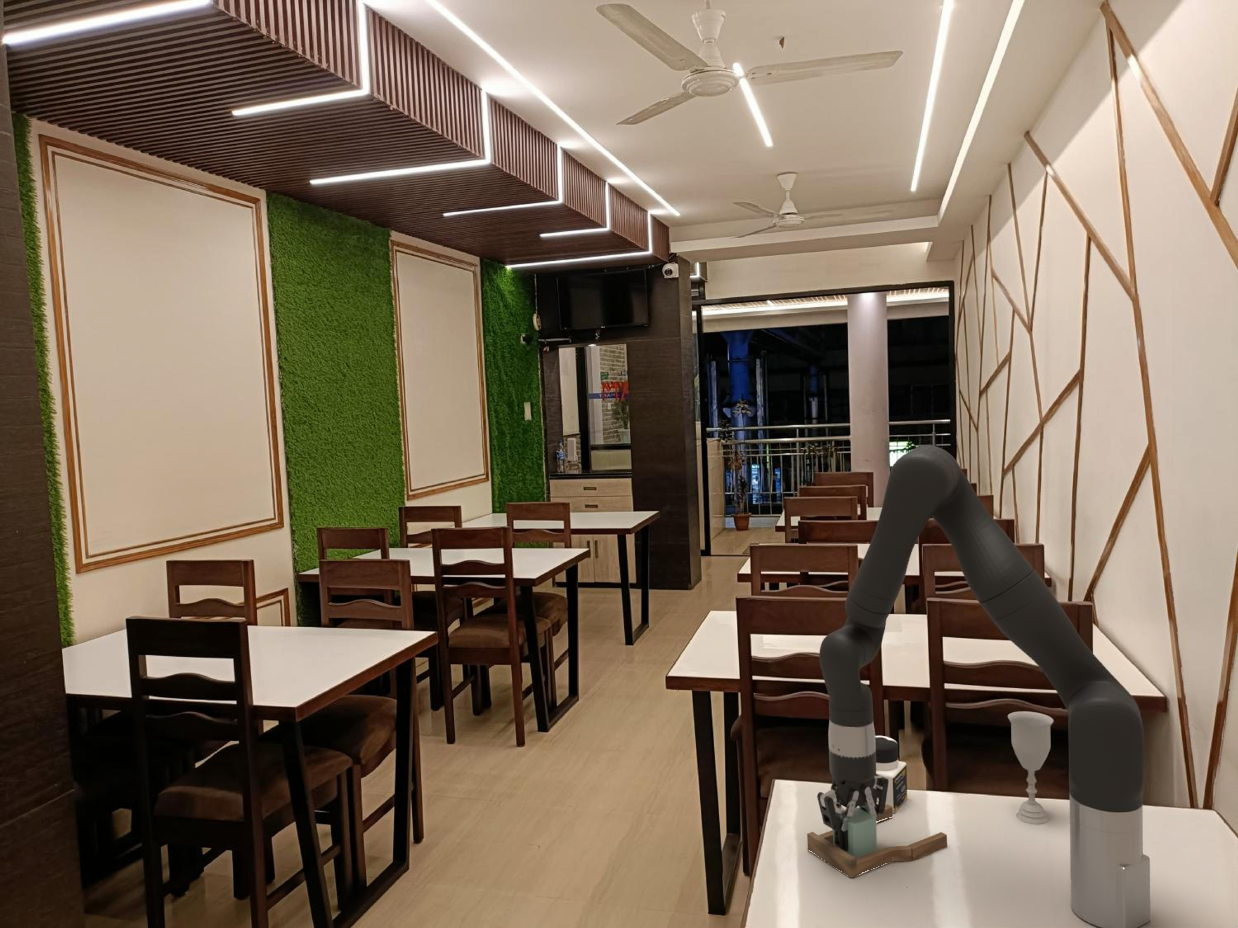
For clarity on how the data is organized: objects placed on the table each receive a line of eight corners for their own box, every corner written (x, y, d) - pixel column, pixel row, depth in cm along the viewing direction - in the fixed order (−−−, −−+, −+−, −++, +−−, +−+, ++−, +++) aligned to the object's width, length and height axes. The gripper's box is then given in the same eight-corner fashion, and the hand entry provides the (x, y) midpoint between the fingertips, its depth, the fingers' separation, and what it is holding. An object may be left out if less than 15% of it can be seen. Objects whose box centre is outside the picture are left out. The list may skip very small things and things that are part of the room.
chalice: (1008, 821, 155) (1006, 722, 154) (1010, 804, 161) (1009, 709, 160) (1054, 829, 152) (1052, 727, 150) (1055, 811, 158) (1054, 714, 156)
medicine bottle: (894, 814, 160) (892, 750, 159) (856, 804, 165) (854, 742, 164) (908, 798, 166) (906, 736, 165) (871, 789, 170) (869, 729, 169)
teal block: (877, 851, 147) (875, 817, 146) (854, 860, 144) (853, 825, 144) (855, 839, 151) (854, 805, 151) (833, 847, 149) (832, 813, 148)
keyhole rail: (947, 846, 148) (946, 829, 148) (858, 882, 139) (857, 864, 139) (887, 814, 160) (887, 798, 160) (801, 846, 151) (801, 829, 150)
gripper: (834, 764, 140) (838, 867, 141) (900, 743, 146) (903, 841, 148) (803, 748, 146) (807, 847, 147) (868, 729, 153) (871, 823, 154)
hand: (855, 844), depth 148 cm, fingers closed on teal block, 5 cm apart
